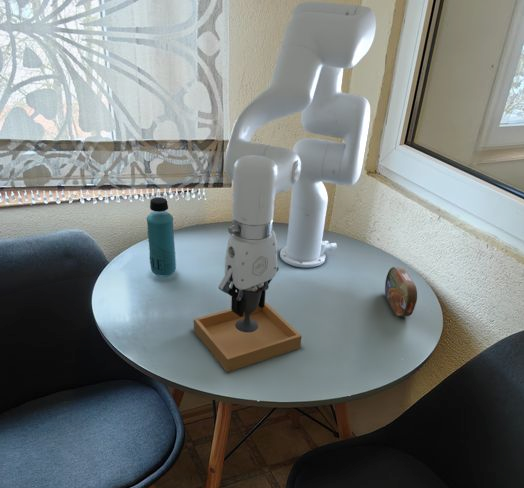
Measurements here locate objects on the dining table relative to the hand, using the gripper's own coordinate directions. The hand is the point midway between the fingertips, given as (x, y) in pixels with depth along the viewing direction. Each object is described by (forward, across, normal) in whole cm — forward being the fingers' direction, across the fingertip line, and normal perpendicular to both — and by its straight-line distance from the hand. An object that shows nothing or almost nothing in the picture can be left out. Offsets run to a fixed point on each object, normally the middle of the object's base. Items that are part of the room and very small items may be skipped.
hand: (248, 308), depth 106 cm
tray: (+8, 0, 0) cm, 8 cm away
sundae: (+5, 0, 0) cm, 5 cm away
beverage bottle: (+8, +1, +34) cm, 35 cm away
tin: (+8, +39, -11) cm, 41 cm away
